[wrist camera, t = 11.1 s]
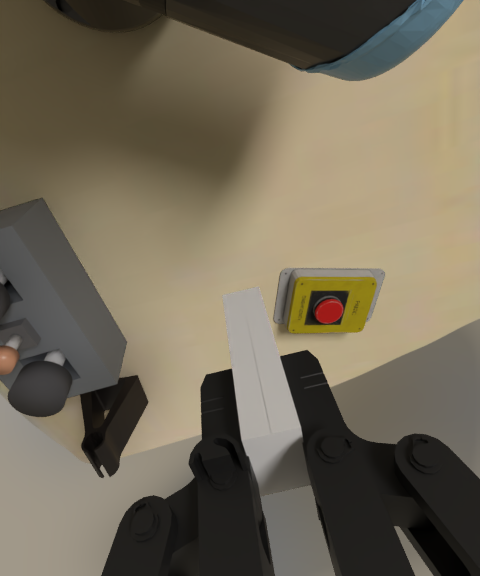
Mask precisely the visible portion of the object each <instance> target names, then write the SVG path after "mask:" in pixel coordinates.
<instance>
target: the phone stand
mask: <svg viewBox="0 0 480 576" xmlns="http://www.w3.org/2000/svg"><path fill="white" fill-rule="evenodd" d="M80 397H81V404H82V411H83V419H84V426H85V437H84V439H83V442H82V445H81V447H82V450H83V451H84V453H85V455H86V456H87V458H88V459H89V461H90V463H91V464H92V466H93V467H94V469H95V471H96V472H97V474H98V475H99V477H101V478H103V477H104V475H103V474H102V472H101V470H100V466H101V465H103V466H104V468H105V469H106V471H107V473H108V474H109V476H110V477H111V476H112V475H114V474H115V473H116V471H117V470H118V468H119V461H120V456H121V453H122V451H123V449H124V448H125V446H126V444H127V442H128V440H129V438H130V436H131V434H132V432H133V431H134V429H135V427H136V425H137V423H138V421H139V419H140V417H141V416H142V414H143V412H144V410H145V408H146V406H147V404H148V400H147V398H146V395H145V393H144V390H143V388H142V385H141V383H140V380H139V378H138V376H137V375H135V376H130V377H124V378H119V379H118V384H116V385H112V386H109V387H105V388H101V389H98V390H94V391H91V392H87V393H83V394H80ZM109 409H110V411H109V413H108V415H107V417H106V419H105V418H104V411H105V410H109Z"/></svg>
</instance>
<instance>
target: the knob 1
mask: <svg viewBox="0 0 480 576" xmlns="http://www.w3.org/2000/svg"><path fill="white" fill-rule="evenodd" d="M7 281H8V278H7V277H6V276H5V274H4V273H3V272H2V270H1V269H0V320H1V319H2V317H3V316H4V315H5V313H6V312H7V310H8V309H9V307H10V295H9V293H8V291H7V289H6V288H5V287H4V284H5V283H6V282H7Z"/></svg>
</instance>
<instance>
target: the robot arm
mask: <svg viewBox="0 0 480 576" xmlns="http://www.w3.org/2000/svg"><path fill="white" fill-rule="evenodd" d="M44 1H45V2H46V3H47V4H48V5H49V6H51V7H52V8H53V9H54V10H56V11H57V12H59V13H60V14H62V15H63V16H65V17H66V18H68V19H70V20H72V21H74V22H76V23H78V24H81V25H83V26H86V27H89V28H92V29H95V30H99V31H104V32H118V33H119V32H128V31H133V30H137V29H140V28H142V27H144V26H147V25H149V24H150V23H152V22H154V21H155V20H156V19H158V18H159V17H160V16H161V15H162V14H163V15H165V16H167V17H168V18H170V19H173V20H176V21H178V22H181V23H184V24H186V25H189V26H192V27H194V28H197V29H199V30H202V31H205V32H207V33H210V34H213V35H215V36H218V37H221V38H223V39H226V40H228V41H231V42H234V43H236V44H239V45H242V46H244V47H247V48H249V49H252V50H255V51H257V52H260V53H263V54H265V55H268V56H271V57H273V58H276V59H278V60H281V61H284V62H286V63H289V64H290V65H291V66H292V67H294V68H296V69H297V70H300V71H306V72H308V73H322V74H326V75H329V76H332V77H335V78H338V79H342V80H347V81H361V80H366V79H370V78H373V77H376V76H378V75H381V74H383V73H385V72H387V71H389V70H390V69H392V68H394V67H395V66H397V65H398V64H400V63H401V62H403V61H404V60H405V59H407V58H408V57H409V56H410V55H412V54H413V53H414V52H415V51H417V50H418V49H419V48H420V47H421V46H422V45H423V44H424V43H426V42H427V41H428V40H429V39H430V38H431V37H432V36H433V35H434V34H435V33H436V32H437V31H438V30H439V29H440V28H441V26H442V25H443V24H444V23H445V22H446V21H447V20H448V19H449V17H450V16H451V15H452V14H453V13H454V12H455V10H456V9H457V8H458V7H459V5H460V4H461V3H462V2H463V0H44ZM222 296H223V304H224V311H225V319H226V326H227V334H228V342H229V349H230V357H231V364H232V369H228V370H224V371H220V372H216V373H211V374H207V375H206V376H205V379H204V381H203V383H202V385H201V413H202V415H201V424H202V440H201V441H200V442H199V443H198V444H197V445H196V446H195V447H194V449H193V451H192V452H191V454H190V459H189V466H190V468H191V470H192V472H193V474H194V476H195V478H194V479H193V480H192V481H191V482H190V483H189V484H188V485H186V486H185V487H184V488H182V489H181V490H179V491H177V492H176V493H174V494H172V495H171V496H169V497H167V498H166V499H163V498H161V497H158V496H154V495H153V496H148V497H143V498H142V499H140V500H138V501H137V502H135V503H134V504H133V505H132V506H131V507H130V508H129V509H128V511H126V513H125V515H124V516H123V518H122V520H121V522H120V524H119V527H118V530H117V533H116V536H115V539H114V541H113V544H112V547H111V550H110V553H109V555H108V558H107V561H106V564H105V567H104V570H103V572H102V575H101V576H275V574H274V568H273V562H272V556H271V549H270V543H269V538H268V531H267V525H266V519H265V516H264V513H263V511H262V505H261V498H260V496H264V495H269V494H273V493H277V492H282V491H286V490H290V489H295V488H299V487H303V486H308V485H311V486H312V489H313V493H314V496H315V501H316V506H317V512H318V517H319V520H320V521H321V525H322V528H323V532H324V536H325V539H326V543H327V546H328V550H329V553H330V557H331V561H332V564H333V568H334V572H335V575H336V576H415V575H414V572H413V570H412V568H411V565H410V563H409V560H408V558H407V556H406V554H405V551H404V549H403V547H402V544H401V542H400V540H399V537H398V535H397V533H396V530H395V528H394V526H399V527H400V528H401V530H402V531H403V532H404V534H405V535H406V537H407V538H408V540H409V541H410V542H411V544H412V545H413V547H414V548H415V550H416V551H417V552H418V554H419V555H420V556H421V558H422V559H423V561H424V562H425V564H426V565H427V567H428V568H429V570H430V571H431V572H432V574H433V575H434V576H480V479H479V478H478V477H477V476H476V475H475V474H474V473H473V472H472V471H471V470H470V469H469V468H468V467H467V466H466V465H465V464H464V463H463V462H462V460H460V458H459V457H458V456H457V455H456V454H455V453H454V452H453V451H451V449H450V448H449V447H448V446H446V445H445V444H443V443H442V442H441V441H440V440H438V439H436V438H434V437H431V436H428V435H424V434H412V435H408V436H405V437H403V438H402V439H401V440H400V441H399V442H398V443H397V444H386V443H375V442H370V441H366V440H364V439H362V438H359V437H358V436H357V435H355V434H354V433H352V432H351V431H350V429H348V427H347V426H346V424H345V422H344V420H343V418H342V415H341V413H340V411H339V408H338V406H337V404H336V401H335V399H334V397H333V394H332V392H331V389H330V387H329V385H328V383H327V380H326V378H325V375H324V374H323V370H322V368H321V366H320V363H319V361H318V359H317V358H316V357H315V356H314V355H312V354H311V353H310V352H309V351H308V350H305V351H300V352H296V353H292V354H288V355H284V356H280V355H279V352H278V349H277V345H276V342H275V339H274V335H273V332H272V329H271V325H270V322H269V319H268V315H267V312H266V309H265V305H264V302H263V299H262V295H261V292H260V289H259V286H258V287H254V288H250V289H246V290H242V291H238V292H233V293H229V294H225V295H222Z"/></svg>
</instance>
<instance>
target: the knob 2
mask: <svg viewBox="0 0 480 576" xmlns="http://www.w3.org/2000/svg"><path fill="white" fill-rule="evenodd" d="M65 360H66V357H65V356H64V354H63V353H62V352H61V350H60V349H56V350H53V351H49V352H48V353H47V355H46V357H45V359H44V361H34V362H31V363H28V364H26V365H25V366H24V367H23V368H22V369H21V370H20V372H19V374H18V376H17V378H16V379H15V381H14V383H13V385H12V387H11V389H10V390H9V392H8V400H9V402H10V404H11V405H12V407H14V408H15V409H16V410H17V411H19V412H21V413H23V414H26V415H29V416H34V417H46V416H51V415H54V414H56V413H58V412H59V411H61V409H62V408H63V407H64V404H65V401H66V399H67V396H68V393H69V391H70V388H71V385H72V376H71V374H70V373H69V371H68V370H67V369H66V368H64V367H63V364H64V362H65Z"/></svg>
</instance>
